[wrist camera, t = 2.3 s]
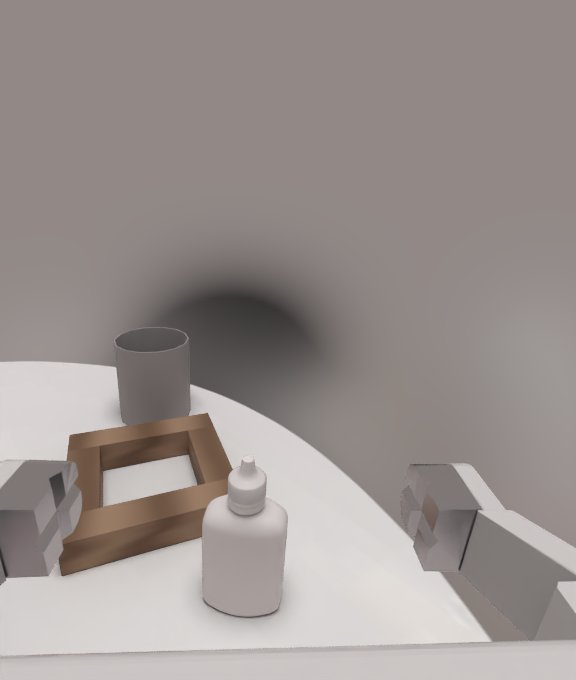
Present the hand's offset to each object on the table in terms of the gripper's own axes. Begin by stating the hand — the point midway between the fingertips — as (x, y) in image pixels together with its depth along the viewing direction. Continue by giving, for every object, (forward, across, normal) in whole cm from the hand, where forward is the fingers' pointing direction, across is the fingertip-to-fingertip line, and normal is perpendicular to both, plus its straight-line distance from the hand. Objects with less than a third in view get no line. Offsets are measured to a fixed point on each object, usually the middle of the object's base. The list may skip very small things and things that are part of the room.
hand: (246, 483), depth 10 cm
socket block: (+23, +9, +21) cm, 32 cm away
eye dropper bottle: (+12, 0, +21) cm, 24 cm away
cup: (+37, +12, +21) cm, 44 cm away
